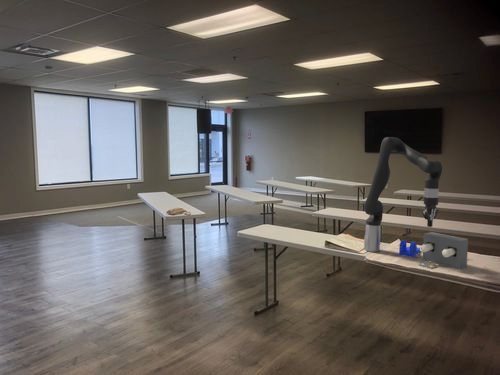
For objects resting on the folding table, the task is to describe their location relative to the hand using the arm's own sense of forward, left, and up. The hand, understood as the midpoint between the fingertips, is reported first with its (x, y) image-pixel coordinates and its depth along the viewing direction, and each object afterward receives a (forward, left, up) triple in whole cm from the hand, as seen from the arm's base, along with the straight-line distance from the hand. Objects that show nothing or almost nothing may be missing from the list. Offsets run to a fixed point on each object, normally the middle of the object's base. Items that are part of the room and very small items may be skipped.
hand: (429, 226), depth 221 cm
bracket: (+3, +28, -23) cm, 36 cm away
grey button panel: (+12, +5, -23) cm, 27 cm away
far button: (+4, +7, -16) cm, 18 cm away
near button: (+10, -4, -16) cm, 20 cm away
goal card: (0, 0, -23) cm, 23 cm away
